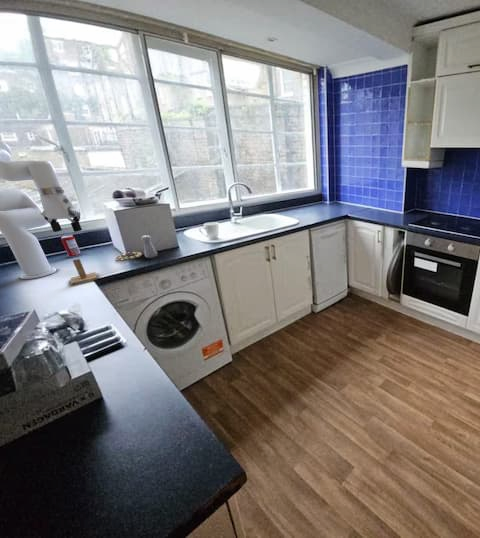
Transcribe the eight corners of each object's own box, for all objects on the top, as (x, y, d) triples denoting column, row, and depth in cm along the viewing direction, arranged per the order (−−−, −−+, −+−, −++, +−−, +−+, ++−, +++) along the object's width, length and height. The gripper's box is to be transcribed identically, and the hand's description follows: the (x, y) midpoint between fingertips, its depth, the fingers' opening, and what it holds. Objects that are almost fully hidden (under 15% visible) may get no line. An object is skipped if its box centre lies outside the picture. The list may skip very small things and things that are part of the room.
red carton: (72, 254, 173) (64, 235, 169) (83, 253, 174) (75, 234, 170) (66, 257, 168) (57, 237, 164) (77, 256, 170) (69, 236, 165)
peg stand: (71, 280, 138) (62, 259, 134) (96, 274, 143) (88, 254, 140) (72, 285, 132) (62, 264, 128) (97, 279, 137) (89, 259, 133)
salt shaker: (143, 260, 161) (135, 237, 156) (152, 256, 166) (145, 234, 161) (152, 260, 159) (144, 237, 154) (160, 257, 165) (154, 234, 160)
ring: (115, 259, 163) (113, 255, 162) (140, 254, 171) (139, 250, 170) (118, 264, 155) (116, 260, 154) (144, 258, 163) (143, 254, 162)
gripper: (78, 190, 127) (93, 228, 134) (42, 191, 128) (58, 229, 135) (61, 192, 120) (78, 233, 127) (22, 193, 121) (41, 233, 128)
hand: (68, 231), depth 131 cm, fingers open, 9 cm apart
